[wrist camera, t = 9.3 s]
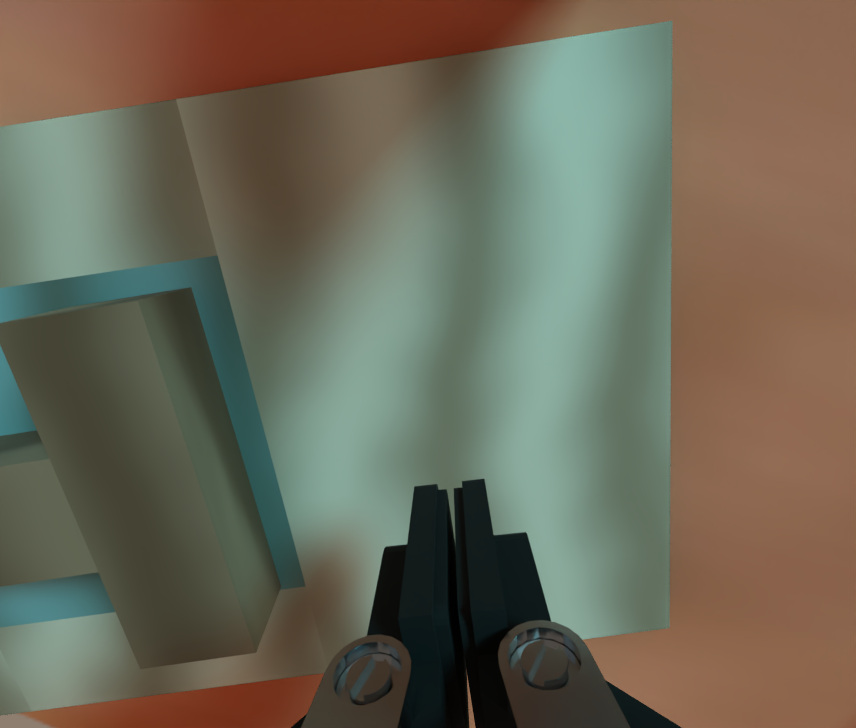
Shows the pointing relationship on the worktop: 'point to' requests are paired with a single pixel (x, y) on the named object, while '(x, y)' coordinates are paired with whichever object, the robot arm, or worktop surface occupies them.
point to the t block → (135, 477)
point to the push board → (378, 327)
